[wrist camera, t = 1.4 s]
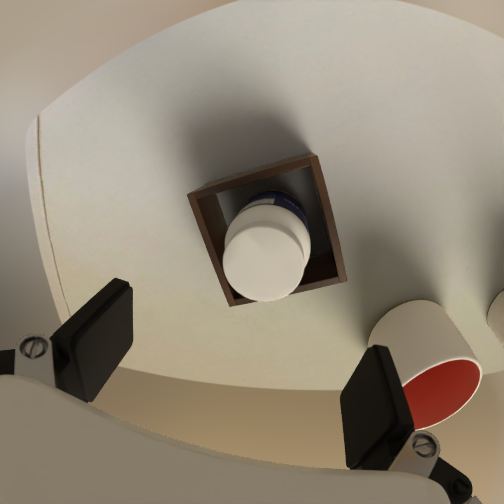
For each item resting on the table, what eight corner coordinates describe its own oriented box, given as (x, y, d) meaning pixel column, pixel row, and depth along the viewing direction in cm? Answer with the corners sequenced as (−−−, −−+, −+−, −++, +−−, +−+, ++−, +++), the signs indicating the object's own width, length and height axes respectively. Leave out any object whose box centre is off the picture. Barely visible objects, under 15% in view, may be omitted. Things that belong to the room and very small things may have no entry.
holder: (205, 184, 25) (186, 194, 21) (312, 152, 23) (317, 155, 18) (239, 279, 28) (229, 307, 24) (338, 256, 26) (347, 281, 21)
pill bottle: (316, 236, 26) (327, 292, 17) (258, 259, 27) (240, 321, 18) (290, 177, 24) (289, 200, 15) (230, 203, 26) (195, 241, 16)
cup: (349, 357, 30) (361, 428, 21) (392, 283, 26) (428, 347, 17) (415, 371, 30) (437, 433, 21) (459, 307, 26) (500, 363, 17)
